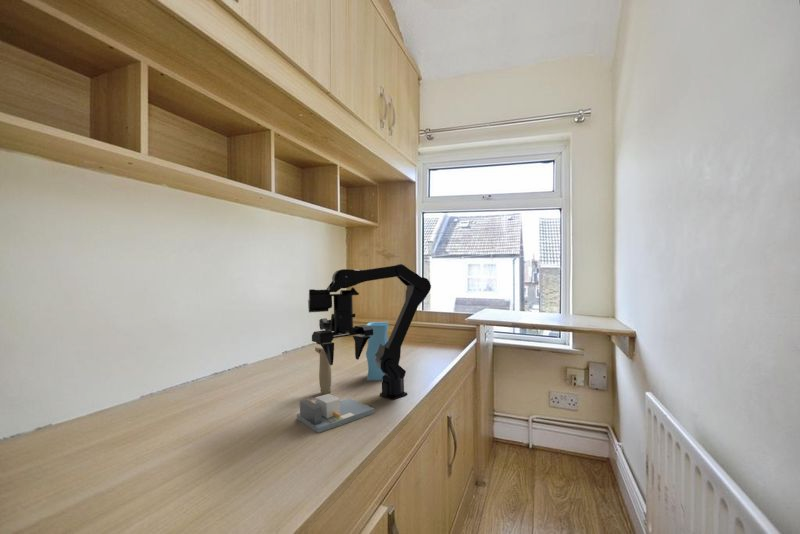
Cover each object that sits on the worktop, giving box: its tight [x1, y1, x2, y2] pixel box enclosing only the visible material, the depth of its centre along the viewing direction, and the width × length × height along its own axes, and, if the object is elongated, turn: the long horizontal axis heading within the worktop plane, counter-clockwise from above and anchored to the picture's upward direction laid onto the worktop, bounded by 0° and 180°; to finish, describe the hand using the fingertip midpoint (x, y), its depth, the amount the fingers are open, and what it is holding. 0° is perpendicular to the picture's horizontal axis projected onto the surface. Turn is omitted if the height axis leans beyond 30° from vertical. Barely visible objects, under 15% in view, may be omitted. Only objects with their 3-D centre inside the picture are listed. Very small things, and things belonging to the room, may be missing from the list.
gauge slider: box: [315, 393, 341, 418], centre depth 91 cm, size 4×9×4 cm, turn 42°
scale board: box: [296, 397, 375, 434], centre depth 93 cm, size 17×12×2 cm
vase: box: [365, 321, 390, 381], centre depth 129 cm, size 8×8×20 cm
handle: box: [314, 345, 332, 395], centre depth 113 cm, size 5×6×15 cm
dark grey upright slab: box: [299, 398, 322, 425], centre depth 88 cm, size 2×8×4 cm, turn 42°
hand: (344, 362), depth 104 cm, fingers open, 9 cm apart
